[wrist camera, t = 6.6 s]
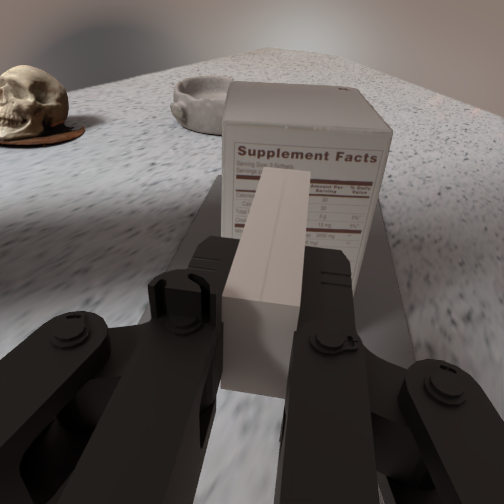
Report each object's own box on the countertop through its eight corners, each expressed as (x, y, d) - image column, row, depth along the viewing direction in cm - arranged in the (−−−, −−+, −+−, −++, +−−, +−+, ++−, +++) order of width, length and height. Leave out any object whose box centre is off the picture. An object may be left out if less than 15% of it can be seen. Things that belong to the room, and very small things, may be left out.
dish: (204, 104, 67) (204, 71, 64) (285, 119, 63) (288, 84, 60) (149, 128, 56) (146, 89, 53) (243, 148, 52) (244, 106, 49)
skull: (24, 151, 44) (-41, 65, 43) (0, 192, 51) (-58, 119, 50) (109, 121, 53) (57, 48, 51) (78, 159, 60) (31, 96, 58)
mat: (420, 395, 22) (422, 390, 22) (126, 350, 23) (125, 345, 23) (375, 195, 42) (376, 192, 42) (218, 178, 43) (218, 174, 43)
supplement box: (225, 264, 30) (228, 77, 23) (328, 269, 30) (362, 85, 23) (216, 340, 24) (217, 116, 17) (345, 346, 24) (400, 126, 17)
